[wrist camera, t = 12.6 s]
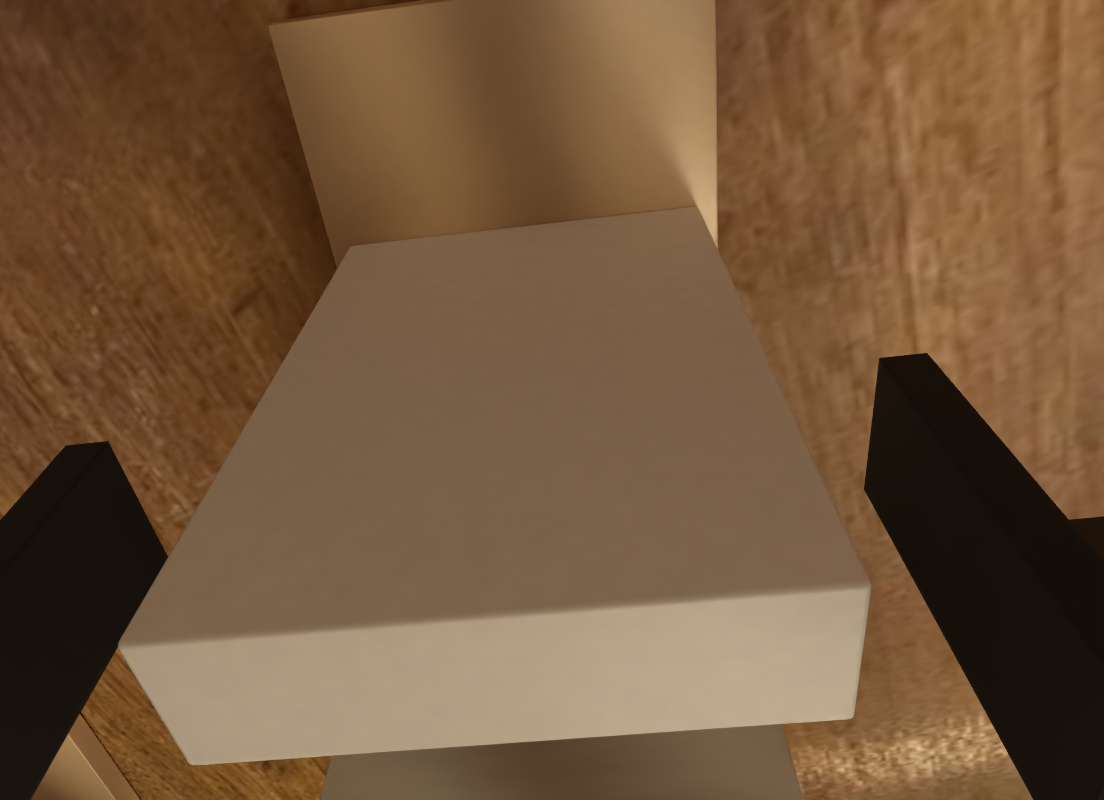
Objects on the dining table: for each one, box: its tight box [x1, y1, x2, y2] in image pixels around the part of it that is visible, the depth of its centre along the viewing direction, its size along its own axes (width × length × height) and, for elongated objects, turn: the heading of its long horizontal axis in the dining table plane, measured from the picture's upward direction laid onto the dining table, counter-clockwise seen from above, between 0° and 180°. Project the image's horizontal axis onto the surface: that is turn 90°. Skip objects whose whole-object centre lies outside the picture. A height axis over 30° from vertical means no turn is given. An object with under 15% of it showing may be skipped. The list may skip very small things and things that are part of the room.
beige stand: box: [268, 0, 803, 800], centre depth 17 cm, size 10×19×14 cm, turn 7°
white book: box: [118, 206, 871, 765], centre depth 15 cm, size 9×2×13 cm, turn 97°
